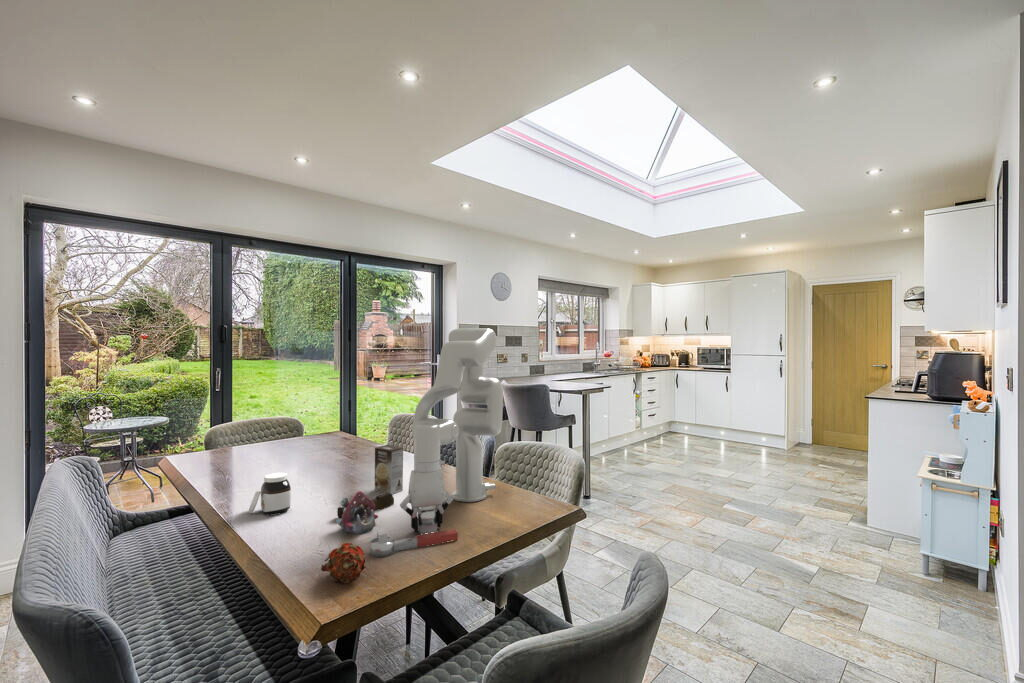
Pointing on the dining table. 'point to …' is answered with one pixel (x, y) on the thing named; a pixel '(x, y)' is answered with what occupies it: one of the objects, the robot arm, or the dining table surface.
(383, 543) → the ratchet
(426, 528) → the socket
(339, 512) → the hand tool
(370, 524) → the brake caliper
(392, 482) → the coffee box
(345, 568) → the dragon fruit
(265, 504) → the spread jar
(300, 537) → the dining table surface
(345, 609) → the dining table surface
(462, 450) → the robot arm
